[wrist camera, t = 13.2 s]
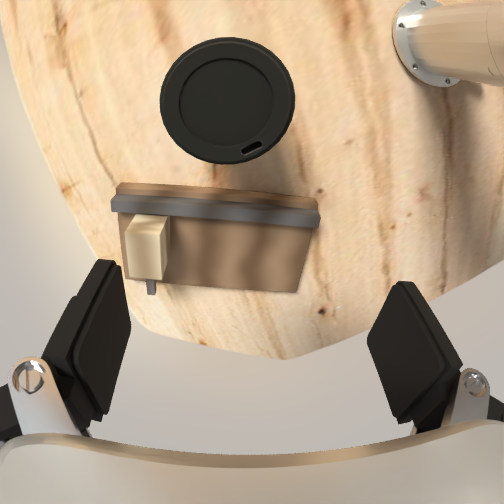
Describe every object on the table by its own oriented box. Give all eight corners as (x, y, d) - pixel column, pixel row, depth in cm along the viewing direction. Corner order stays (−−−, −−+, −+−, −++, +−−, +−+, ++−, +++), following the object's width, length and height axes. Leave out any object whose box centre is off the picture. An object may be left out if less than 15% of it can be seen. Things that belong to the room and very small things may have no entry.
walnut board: (314, 198, 39) (322, 211, 35) (294, 283, 46) (298, 301, 43) (121, 182, 36) (110, 194, 33) (129, 270, 43) (121, 287, 40)
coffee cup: (249, 37, 27) (257, 10, 15) (289, 109, 32) (323, 133, 20) (172, 78, 30) (127, 83, 17) (214, 147, 34) (199, 195, 22)
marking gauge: (170, 210, 36) (159, 235, 31) (171, 276, 42) (163, 305, 37) (139, 208, 36) (124, 232, 31) (144, 273, 41) (133, 302, 36)
